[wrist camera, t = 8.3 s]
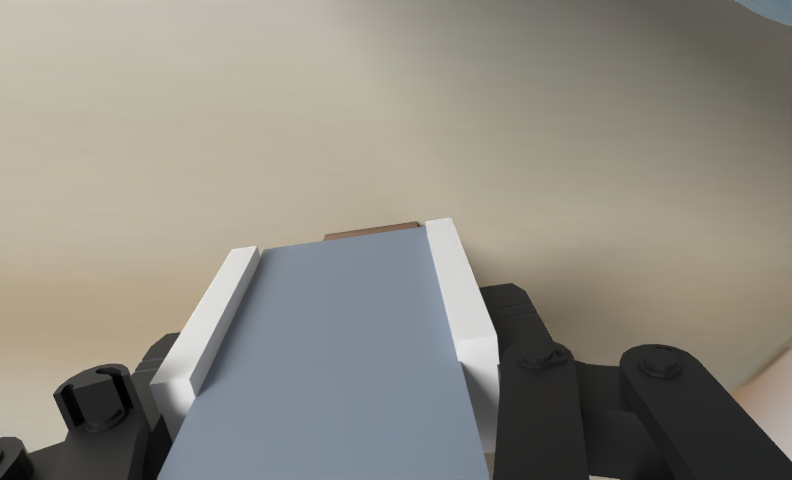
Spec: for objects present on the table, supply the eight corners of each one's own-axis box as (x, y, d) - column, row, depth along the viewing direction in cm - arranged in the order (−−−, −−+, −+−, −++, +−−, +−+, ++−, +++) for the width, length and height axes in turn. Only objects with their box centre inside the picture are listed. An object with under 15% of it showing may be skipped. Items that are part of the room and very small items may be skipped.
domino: (264, 249, 17) (136, 522, 8) (425, 226, 17) (489, 474, 8) (278, 306, 18) (176, 617, 9) (433, 284, 18) (499, 574, 9)
